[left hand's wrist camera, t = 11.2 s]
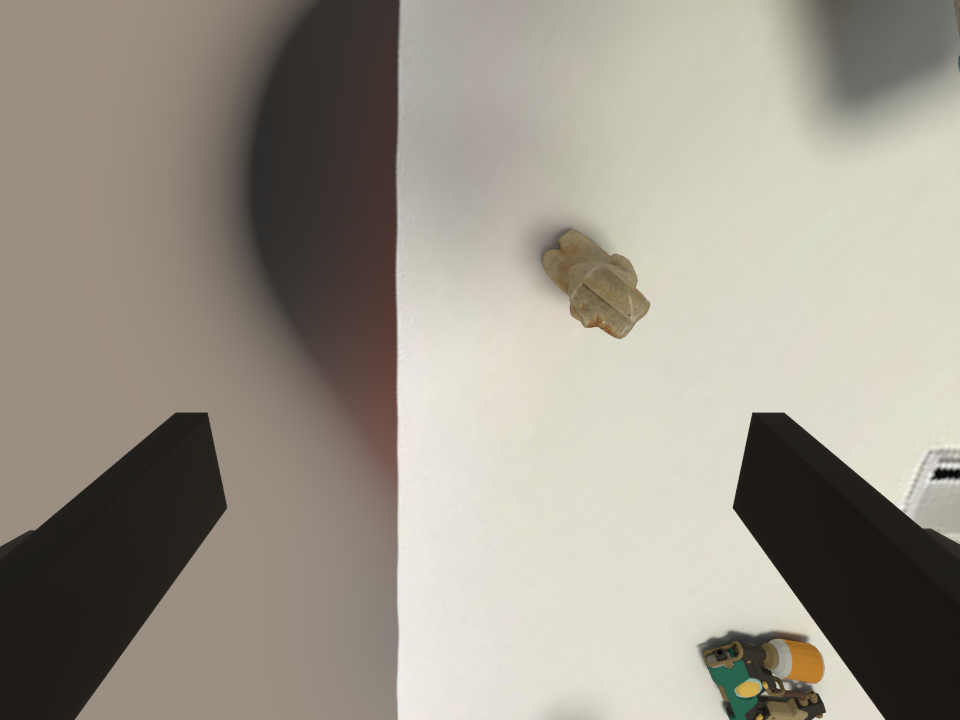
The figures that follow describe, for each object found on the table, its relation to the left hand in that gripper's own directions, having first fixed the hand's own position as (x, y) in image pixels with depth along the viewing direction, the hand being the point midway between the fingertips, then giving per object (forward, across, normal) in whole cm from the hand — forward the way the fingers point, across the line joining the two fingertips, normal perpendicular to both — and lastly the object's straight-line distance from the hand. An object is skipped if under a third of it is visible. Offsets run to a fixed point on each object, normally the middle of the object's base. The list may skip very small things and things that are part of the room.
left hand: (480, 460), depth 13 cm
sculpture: (+37, +9, -2) cm, 38 cm away
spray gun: (+37, +35, -55) cm, 75 cm away
